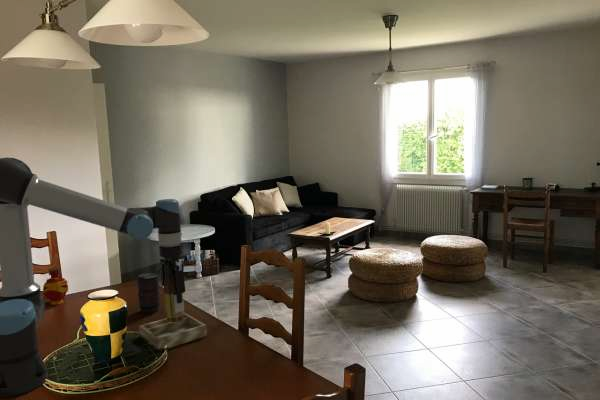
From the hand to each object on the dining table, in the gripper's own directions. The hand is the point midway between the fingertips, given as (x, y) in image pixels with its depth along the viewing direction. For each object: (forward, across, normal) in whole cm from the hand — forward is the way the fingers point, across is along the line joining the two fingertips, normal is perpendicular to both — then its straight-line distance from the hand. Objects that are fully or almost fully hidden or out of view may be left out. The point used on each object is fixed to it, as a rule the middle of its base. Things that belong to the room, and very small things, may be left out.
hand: (174, 308), depth 163 cm
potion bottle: (+11, +70, +22) cm, 74 cm away
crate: (+11, +2, 0) cm, 11 cm away
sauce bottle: (+4, 0, 0) cm, 4 cm away
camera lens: (+11, +32, -4) cm, 34 cm away
